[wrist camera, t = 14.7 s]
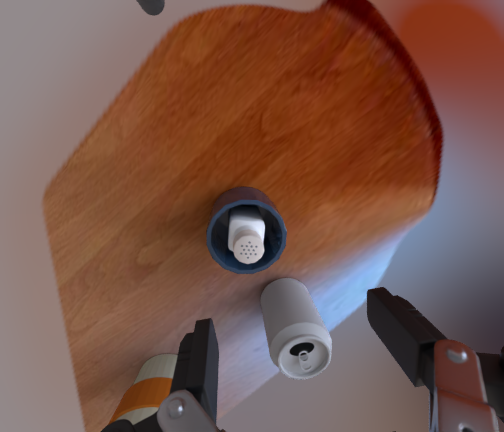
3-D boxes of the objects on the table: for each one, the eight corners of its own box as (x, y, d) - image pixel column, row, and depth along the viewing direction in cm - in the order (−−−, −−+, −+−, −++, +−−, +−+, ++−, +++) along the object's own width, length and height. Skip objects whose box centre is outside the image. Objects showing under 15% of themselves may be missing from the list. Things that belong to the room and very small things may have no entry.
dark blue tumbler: (200, 234, 36) (194, 257, 29) (226, 175, 34) (226, 186, 27) (258, 257, 38) (264, 284, 31) (287, 202, 36) (300, 219, 29)
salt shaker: (229, 204, 34) (230, 230, 25) (259, 206, 35) (270, 232, 26) (227, 232, 36) (227, 266, 27) (256, 234, 36) (266, 268, 27)
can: (302, 269, 39) (333, 326, 28) (310, 309, 41) (341, 376, 30) (254, 281, 39) (265, 343, 28) (265, 320, 41) (279, 392, 30)
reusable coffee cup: (166, 412, 46) (138, 539, 32) (112, 373, 42) (52, 496, 28) (221, 376, 44) (218, 492, 30) (170, 331, 41) (138, 439, 26)
